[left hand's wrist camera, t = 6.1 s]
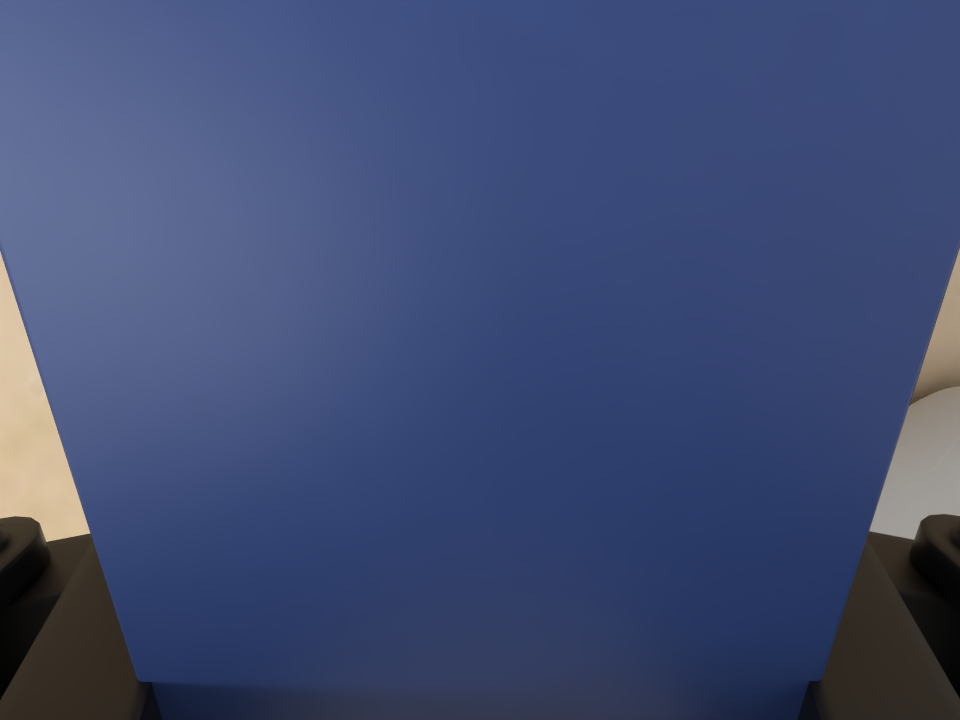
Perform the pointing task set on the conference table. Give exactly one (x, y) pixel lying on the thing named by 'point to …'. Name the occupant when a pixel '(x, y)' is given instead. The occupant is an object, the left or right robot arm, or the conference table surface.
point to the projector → (923, 467)
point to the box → (479, 336)
